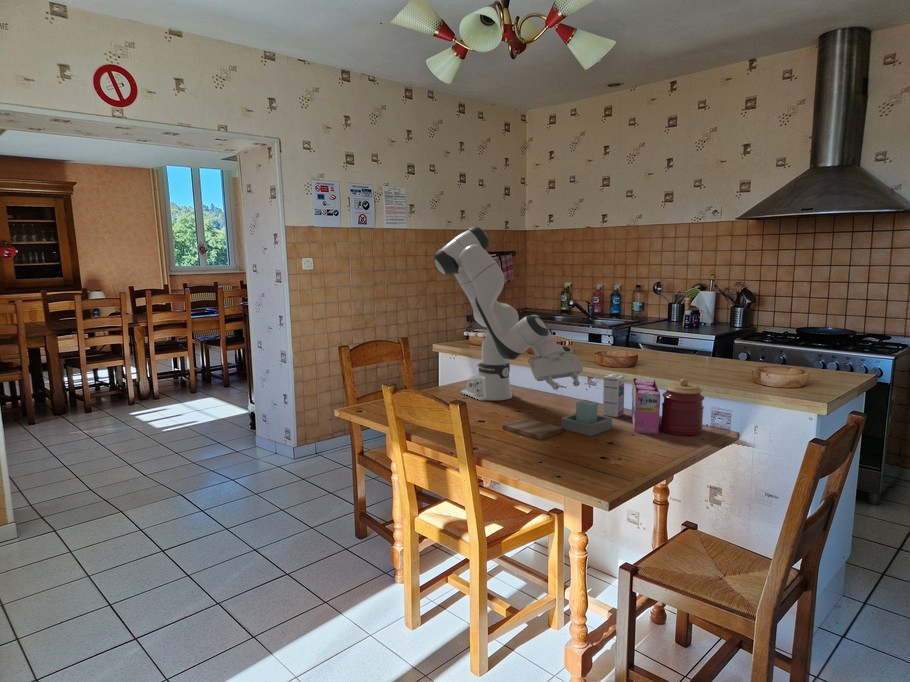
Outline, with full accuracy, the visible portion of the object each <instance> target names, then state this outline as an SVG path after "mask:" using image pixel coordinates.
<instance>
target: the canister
mask: <svg viewBox="0 0 910 682" xmlns="http://www.w3.org/2000/svg"><path fill="white" fill-rule="evenodd" d="M665 390H666V391H664V392H662V394H661V395H662V398H663V402H662V404H661V406H662V407H661V421H660V426H661V430H662V431H664V432H666V433H667V434H670V435H677V436H684V435H692V436H697V435H700V434H701V433H702V431H703V427H704V424H703V417H704V409H705V407H704V406H703V401H704V400H705V396H704V395H703V394H702V392H703V390H702V388H700V387H699V386H698V385H696V384H693V383H690V382H689V380H688V379H687V378H681V379H680V380H679V382H672V383H670V384H669V385H667V386H665Z"/></svg>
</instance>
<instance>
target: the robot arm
mask: <svg viewBox="0 0 910 682" xmlns="http://www.w3.org/2000/svg"><path fill="white" fill-rule="evenodd" d="M489 248H490V239H489V237H488V235H487V233H486V232H485V231H484V230H483V229H482V228H481V227H478V226H472V227H470V228H467V230H466V231H464V232H461V233H460V234H458V235H457V236H455V237H453V238H452V240H450V241H449V242H448V243H446V244H445V245H444V246H443V247H441V249H438V250H437V251H436V252H435V253H434V255H433V261H434V264H435V266H436V268H437V270H438V271H439V272H440V273H442V274H443V275H444V276H448V277H450V276H453V275H454V277H455V279H456V280H457V283H458V284H459V285H460V287H461V289H462V290H463V293H464V294H465V296H466V297H467V299H468V301H469V302H470V305H471V308H472V311H473V319H474V321H476V322H477V324H479V325H480V326H482V327H484V328H487V330H486V334H485V338H484V340H483V341H482V342H481V362H480V363H478V364H477V365H476V367H478V371H477V372H475V373H474V374H473V375H471V376H470V377H469V378H468V379H467V381H466V388H464V389H462V390H461V391H460V394H461V393H462V394H461V395H464V394H465V395H464V396H466V395H468V396H467V397H469V396H470V397H469V398H471V397H473V398H472V399H474V398H475V400H477V399H478V400H477V401H505V400H510V399H512V398H513V394H512V393H513V392H512V389H511V381H510V369H511V368H510V367H511V365H510V360H516V359H518V357H520V356H521V355H522V354H523V353H524V352H525V351H527V350H529V349H530V348H532V349H533V354H534V356H531V357H529V358H528V360H527V362H528V364H529V366H530V371H531V372H532V375H533V378H534V379H535V380H536V381H537V382H544V381H545V382H546V383H547V384H548V385H549V386H550V387H552V389H553V390H558V389H559V388H560V385H559V383H558V382H555V381H554V380H557V379H563V378H570V377H571V379H573V381H572V384H573V386H574V387H579V385H580V381H579V375H580V374H581V373H582V372H583V371H584V368H583V367H584V366H583V365H582V363H581V361H580V359H579V358H578V356H577V355H575V354H574V353H573V352H574V350H573V349H572V347H570V346H566V345H562V344H559V343H557V342H556V340H555V338H553V335H552V333H551V331H550V329H549V328H548V326H547V324H546V323H545V321H544V320H543V319H542V318H541V317H540V316H539V315H536V314H531V315H530V314H529V315H526V316H524V317H522V318H521V319H520V318H519V313H518V310H517V309H515V307H513V306H512V305H510V304H508V303H505V302H504V303H503V302H499V301H498V300H497V299H498V297H499V296H500V294H501V293H502V291H503V288H504V286H505V280H506V278H505V274H504V272H503V270H502V269H501V267H500V265H498V263H497V261H495V259H494V258H493V257H492V256H491V254H490V253H488V251H487V250H488V249H489Z"/></svg>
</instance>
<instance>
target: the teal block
mask: <svg viewBox="0 0 910 682" xmlns="http://www.w3.org/2000/svg"><path fill="white" fill-rule="evenodd" d="M575 406H576V409H575V411H576V412H575V414H576V421H579V422H582V423H586V424H590V425H591V424H593V423H596V422H597V415H598V408H599V407H598V406H599V402H596V401H591V400H587V399H582V400H581V401H576V403H575Z"/></svg>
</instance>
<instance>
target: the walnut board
mask: <svg viewBox="0 0 910 682" xmlns="http://www.w3.org/2000/svg"><path fill="white" fill-rule="evenodd" d="M502 430H504V431H507V432H511V433H514V434H518V435H522V436H525V437H528V438H531V439H535V440H537V441H542V440H544V439H547V438H550V437H553V436H555V435H558V434H562V433H563V432H564V429H563V428H562V427H561V426H558V425H555V424H554V425H553V424H550V423H548V422H543V421H539V420H535V419H532V418H528V417H524V418H520V419H517V420H514V421H511V422H508V423H504V424H502Z"/></svg>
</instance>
